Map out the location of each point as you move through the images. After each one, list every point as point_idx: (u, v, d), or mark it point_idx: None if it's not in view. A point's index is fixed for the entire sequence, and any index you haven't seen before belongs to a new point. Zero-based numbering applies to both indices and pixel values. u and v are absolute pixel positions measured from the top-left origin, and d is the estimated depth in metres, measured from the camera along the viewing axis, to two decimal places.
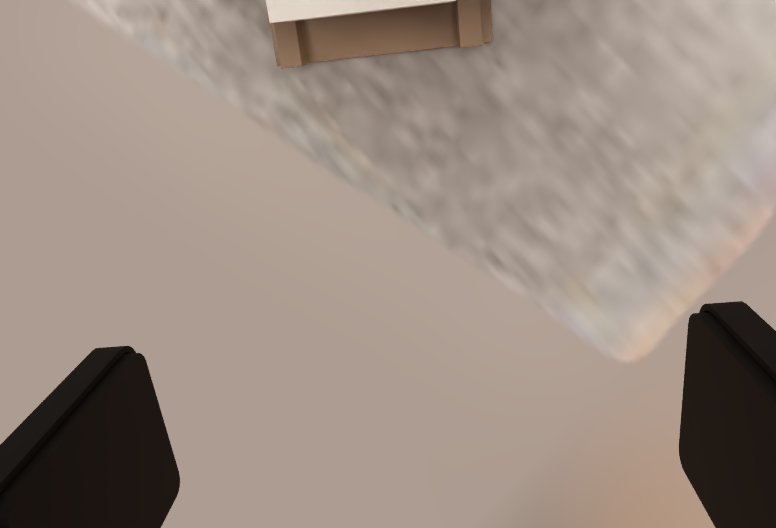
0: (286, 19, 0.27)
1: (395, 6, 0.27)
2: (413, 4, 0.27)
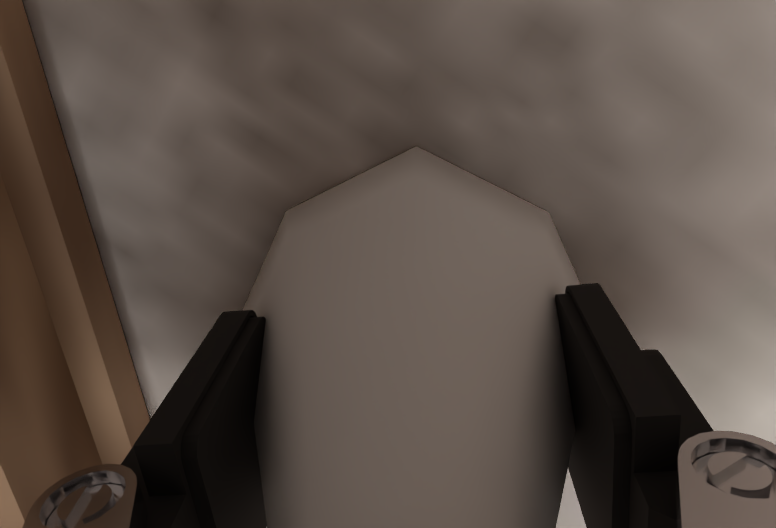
0: None
1: None
2: None
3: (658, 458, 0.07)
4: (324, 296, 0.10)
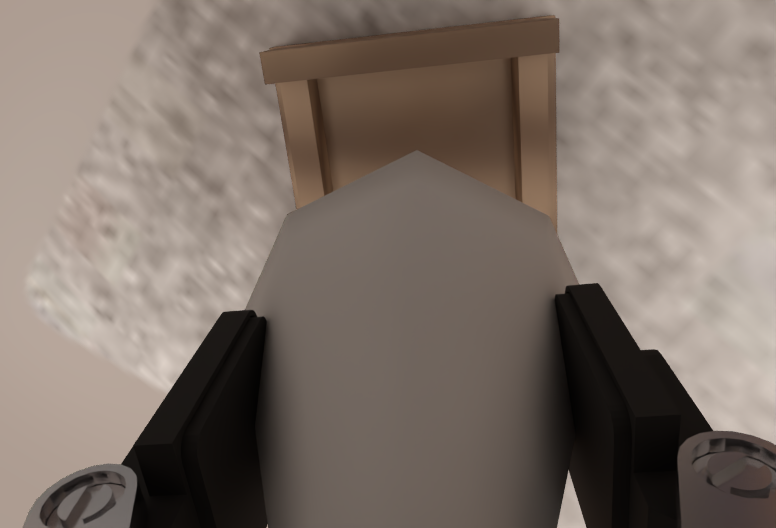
0: None
1: None
2: None
3: (658, 458, 0.07)
4: (325, 300, 0.10)
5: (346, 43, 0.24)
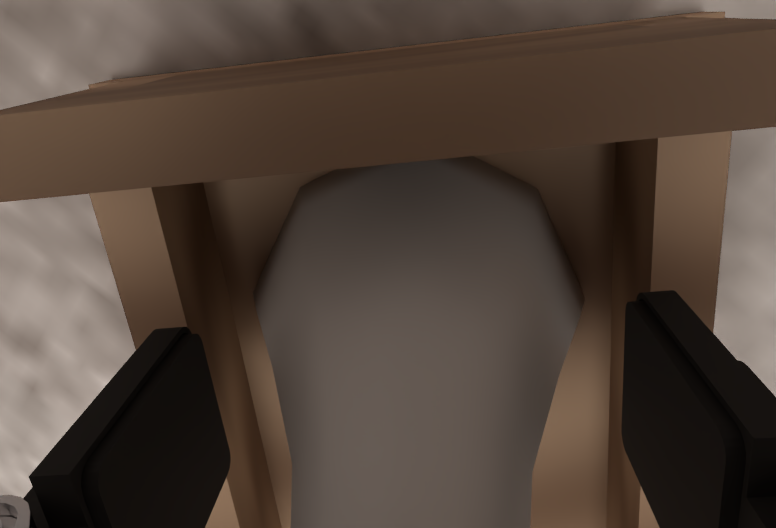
0: None
1: None
2: None
3: (774, 482, 0.07)
4: (337, 257, 0.11)
5: (201, 94, 0.08)
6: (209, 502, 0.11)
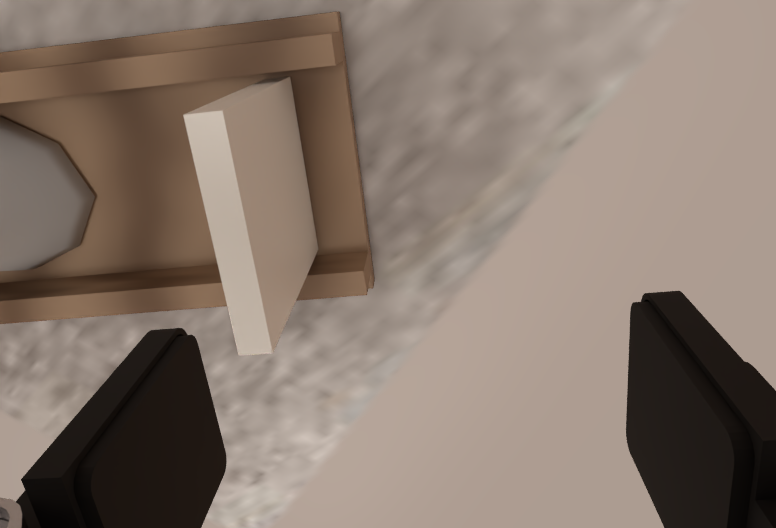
0: (266, 334, 0.21)
1: (238, 196, 0.19)
2: (233, 171, 0.19)
3: None
4: None
5: None
6: (204, 504, 0.11)
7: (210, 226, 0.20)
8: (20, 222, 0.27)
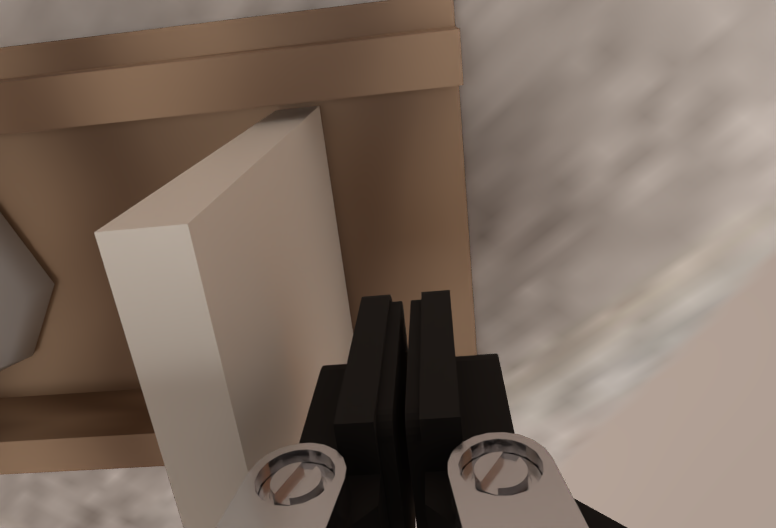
0: None
1: (228, 403, 0.09)
2: (216, 355, 0.08)
3: (445, 458, 0.08)
4: None
5: None
6: None
7: (166, 460, 0.09)
8: None
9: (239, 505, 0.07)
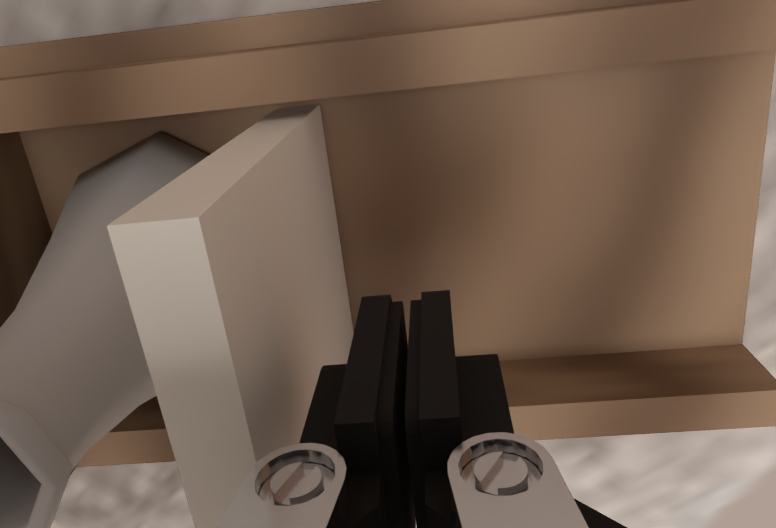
0: None
1: (237, 393, 0.09)
2: (225, 346, 0.08)
3: (445, 458, 0.08)
4: None
5: None
6: None
7: (176, 450, 0.09)
8: None
9: (239, 505, 0.07)
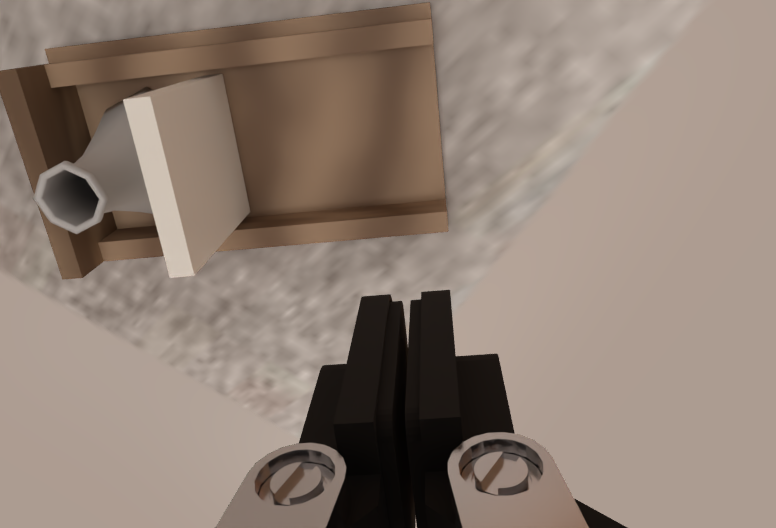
0: (189, 260, 0.29)
1: (164, 158, 0.27)
2: (159, 140, 0.27)
3: (445, 458, 0.08)
4: None
5: (44, 222, 0.34)
6: None
7: (145, 180, 0.27)
8: None
9: (239, 505, 0.07)
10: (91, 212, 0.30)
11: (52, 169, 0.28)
